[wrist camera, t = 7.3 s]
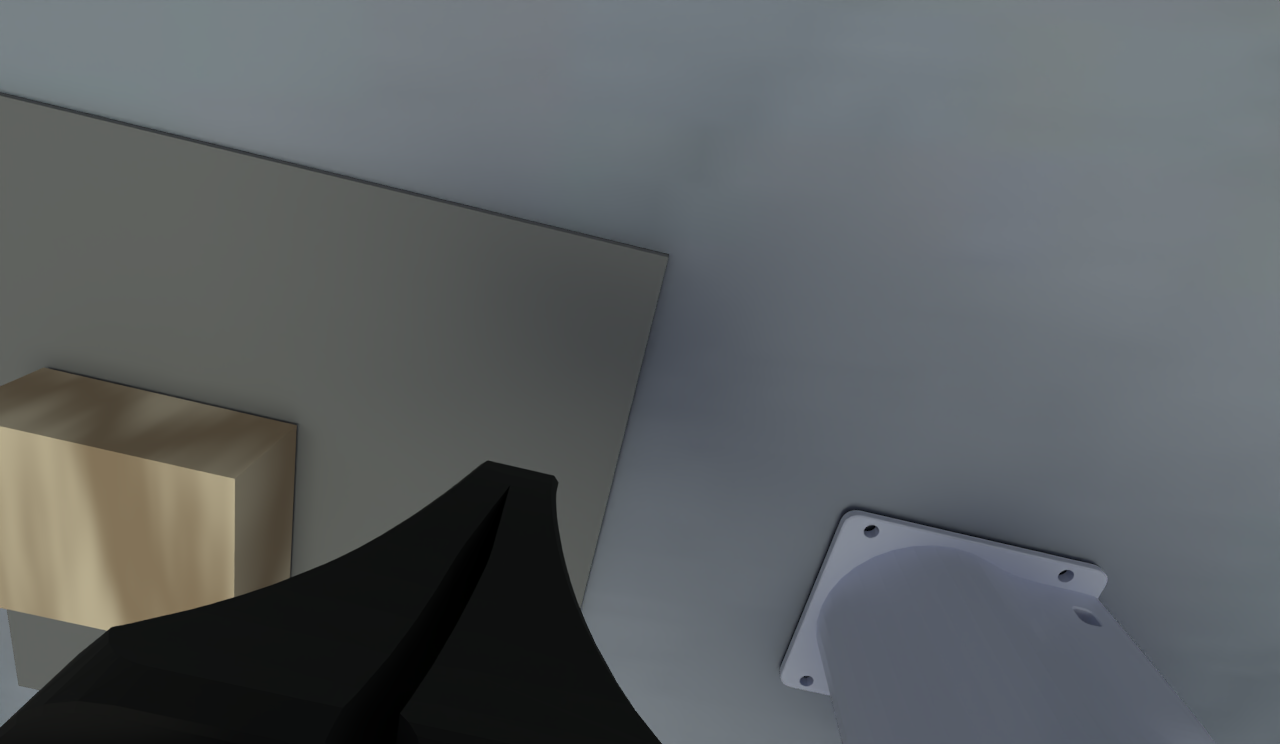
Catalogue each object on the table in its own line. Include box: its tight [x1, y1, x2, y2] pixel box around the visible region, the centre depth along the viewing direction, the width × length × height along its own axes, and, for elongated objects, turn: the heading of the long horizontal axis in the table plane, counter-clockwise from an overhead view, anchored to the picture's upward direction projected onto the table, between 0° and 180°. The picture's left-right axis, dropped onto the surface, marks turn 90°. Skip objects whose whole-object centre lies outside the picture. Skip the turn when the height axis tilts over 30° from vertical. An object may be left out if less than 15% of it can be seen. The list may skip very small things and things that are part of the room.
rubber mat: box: [0, 93, 669, 690], centre depth 25 cm, size 22×24×1 cm
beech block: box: [0, 368, 297, 631], centre depth 23 cm, size 4×7×8 cm
